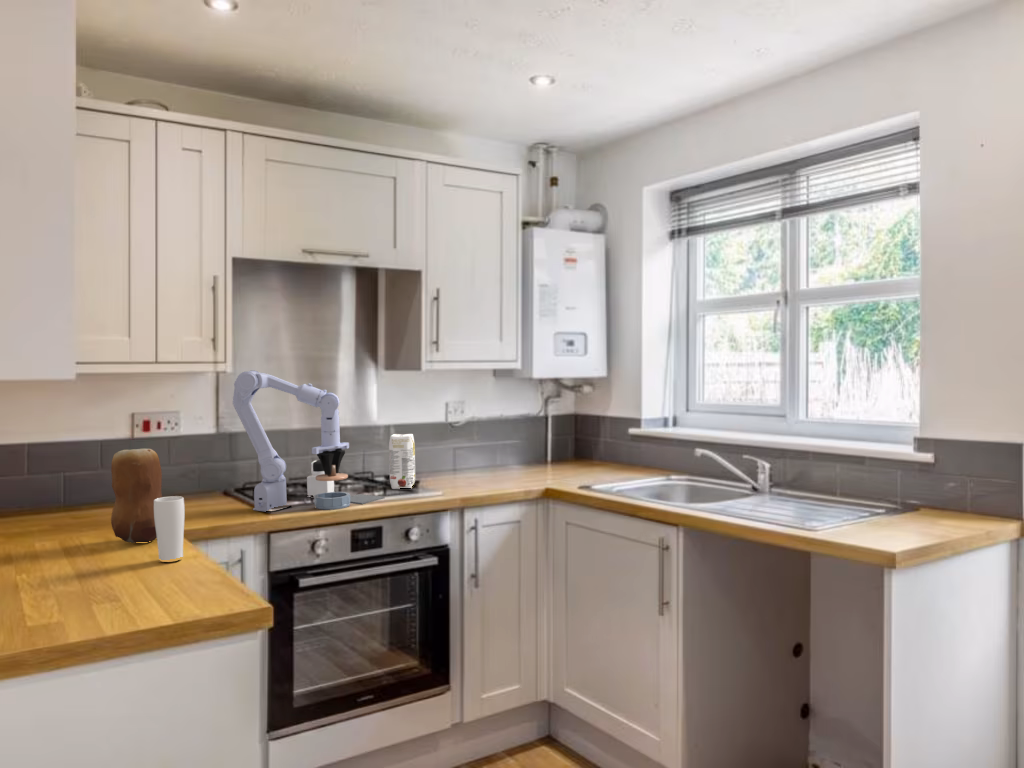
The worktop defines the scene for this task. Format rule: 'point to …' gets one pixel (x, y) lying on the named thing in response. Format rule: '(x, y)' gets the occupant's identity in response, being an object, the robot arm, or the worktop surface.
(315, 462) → the medicine bottle
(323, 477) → the lid
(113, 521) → the butternut squash
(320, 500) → the bowl
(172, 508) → the drinking glass
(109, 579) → the worktop surface
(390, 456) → the juice carton
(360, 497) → the mat
